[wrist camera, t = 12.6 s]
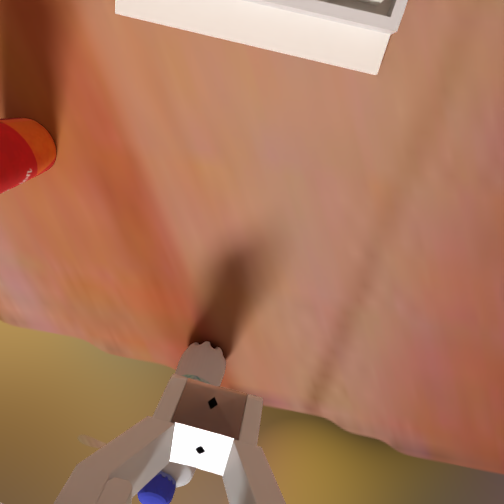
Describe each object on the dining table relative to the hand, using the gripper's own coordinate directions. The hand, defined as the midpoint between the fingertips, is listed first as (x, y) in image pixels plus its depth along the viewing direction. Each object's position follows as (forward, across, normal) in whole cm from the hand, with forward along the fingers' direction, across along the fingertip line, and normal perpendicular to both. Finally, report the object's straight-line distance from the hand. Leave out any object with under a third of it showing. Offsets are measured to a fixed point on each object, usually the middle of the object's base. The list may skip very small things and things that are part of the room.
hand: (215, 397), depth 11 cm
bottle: (+29, -4, -28) cm, 41 cm away
